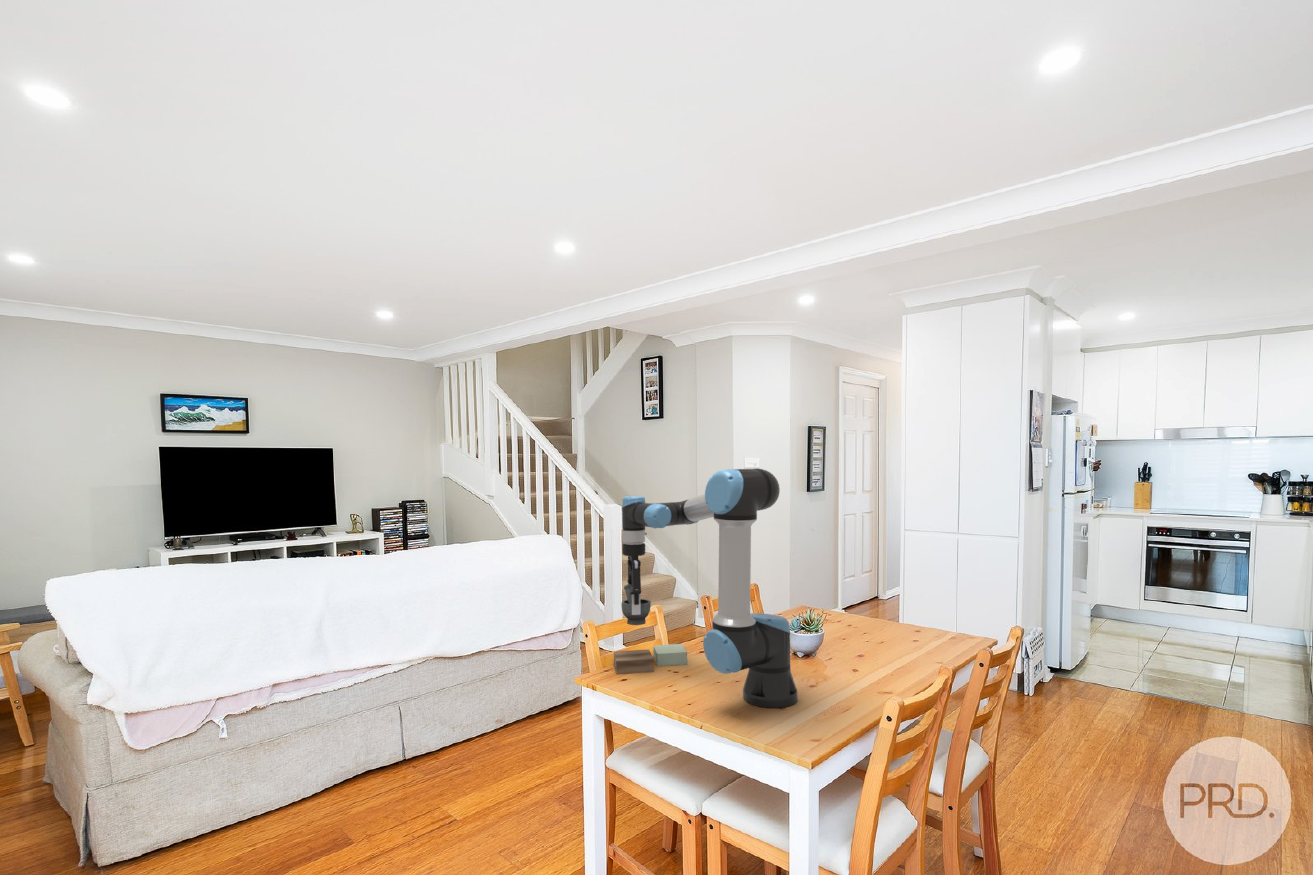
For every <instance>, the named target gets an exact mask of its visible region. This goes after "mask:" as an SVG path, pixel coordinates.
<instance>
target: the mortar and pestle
mask: <svg viewBox="0 0 1313 875" xmlns="http://www.w3.org/2000/svg"><path fill="white" fill-rule="evenodd" d="M623 589H624V590H625V595H626V599H624V600H622V601H621V612H622V614H623V615H624V617H625V618H626V619H627V620H626V621H627V622H626V624H627V625H630V626H641V625H645V624H647V623H646V621H647V620H646V618H647V617H648V616H649V614H650V610H651V606H652V605H651V602H652V601H651V600H649V599H646V598H640V605H641V615H632V595H630V592H632V585H631V584H628V583H627V584H626V585H624V586H623Z"/></svg>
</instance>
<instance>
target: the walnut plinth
mask: <svg viewBox="0 0 1313 875" xmlns="http://www.w3.org/2000/svg"><path fill="white" fill-rule="evenodd" d="M654 661H655V659H654V657H653V655H652V652H651V650H650V649H637V650H636V649H635V650H617V651H616V652H615V651H613V666H614V669H615V673H616V675H621V674H622V675H623V674H641V673H652V672H653V673H655V664H654V663H655V662H654Z"/></svg>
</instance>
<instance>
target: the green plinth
mask: <svg viewBox="0 0 1313 875" xmlns="http://www.w3.org/2000/svg"><path fill="white" fill-rule="evenodd" d="M652 652H653V655H652V657H653V659H654V661H655V662H654V663H656V666H657V667H665V666H680V665H681V666H683V665H688V651H687V649H686V648H685V646H684V645H683V644H682V643H677V644H676V643H675V644H674V643H673V644H659V645H655V644H654V645H653V648H652Z"/></svg>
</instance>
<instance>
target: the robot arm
mask: <svg viewBox="0 0 1313 875" xmlns="http://www.w3.org/2000/svg"><path fill="white" fill-rule="evenodd" d="M780 489H781V488H780V484H779V481H778V479H777V477H776V476H775V475H774V474H773V473H772V472H770V471H768V470H767V469H763V468H728V469H722V470H718V471H716V472H715V473H713V475H711V477H709V479H708V481H707V482H706V486H705V491H704V494H702V495H698V496H695V497H692V498H689V499H686V500H682V501H673V502H669V501H668V502H654V503H653V502H651V503H649V502H646V498H645V496H643V495H626V496H623V498H622V507H621V518H622V519H621V521H622V524H621V527H622V531H621V534H622V536H621V538H622V539H621V542H623V543H622V544H621V545H622V548H621V549H622V555H623V556H624V557H627V585H628V584H631V585H632V592H630V595H632V615H641V605H640V599H641V594H642V584H641V582H642V581H641V580H642V579H641V566H642V565H641V560H640V559H639V557H641V556H644V555H646V544H645V542H646V536H647V535H648V533H647V531H646V527H647V528H652V529H664V528H666V527H671V526H682V525H693V524H696V523H698V522H700V521H703V520H706V519H711V518H713V520H714V521H715V522H716V523H717V524H718V590H717V591H718V593H717V594H718V596H717V597H718V602H717V603H718V605H717V609H718V610H717V611H718V612H717V613H716V614H715V615H714V616H713V617H712V629H710V630H708V631H707V632H706V634H705V635H704V636H703V641H702V642H703V643H702V646H703V647H702V648H703V652H704V655H705V658H706V660H707V661H708V663H709V664H710V665H711V667H712V668H713V669H714V670H715V671H716V672H718V673H720V674H727V675H728V674H733V673H734V674H735V673H738V672H740V671H741V672H742V671H744V670H747V669H748V670H747V671H748V672H747V675H746V678H745V680H744V685H743V688H742V689H743V690H742V695H743V696H742V698H743V699H744V701H745V702H747V703H748V704H751V705H753V706H757V707H761V708H769V709H771V708H773V709H774V708H785V707H790V706H793V705H795V704H796V703H797V702H798V699H799V698H798V693H799V692H798V689H797V686H796V684H795V680H794V677H793V673H792V670H791V630H790V623H789V621H788V619H787V618H786V617H784V616H781V615H777V614H771V613H770V614H769V613H762V612H761V613H756V612H755V613H754V612H753V613H751V577H752V576H751V566H752V564H751V563H752V562H751V559H752V556H751V555H752V548H751V547H752V525H754V523H755V522H756V521H757V520H758V519H757V518H758V511H763V510H767V509H770V508H771V507H772V506H774V505H775V504H776V502H777V500H778V499H779V497H780V491H781V490H780Z"/></svg>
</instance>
